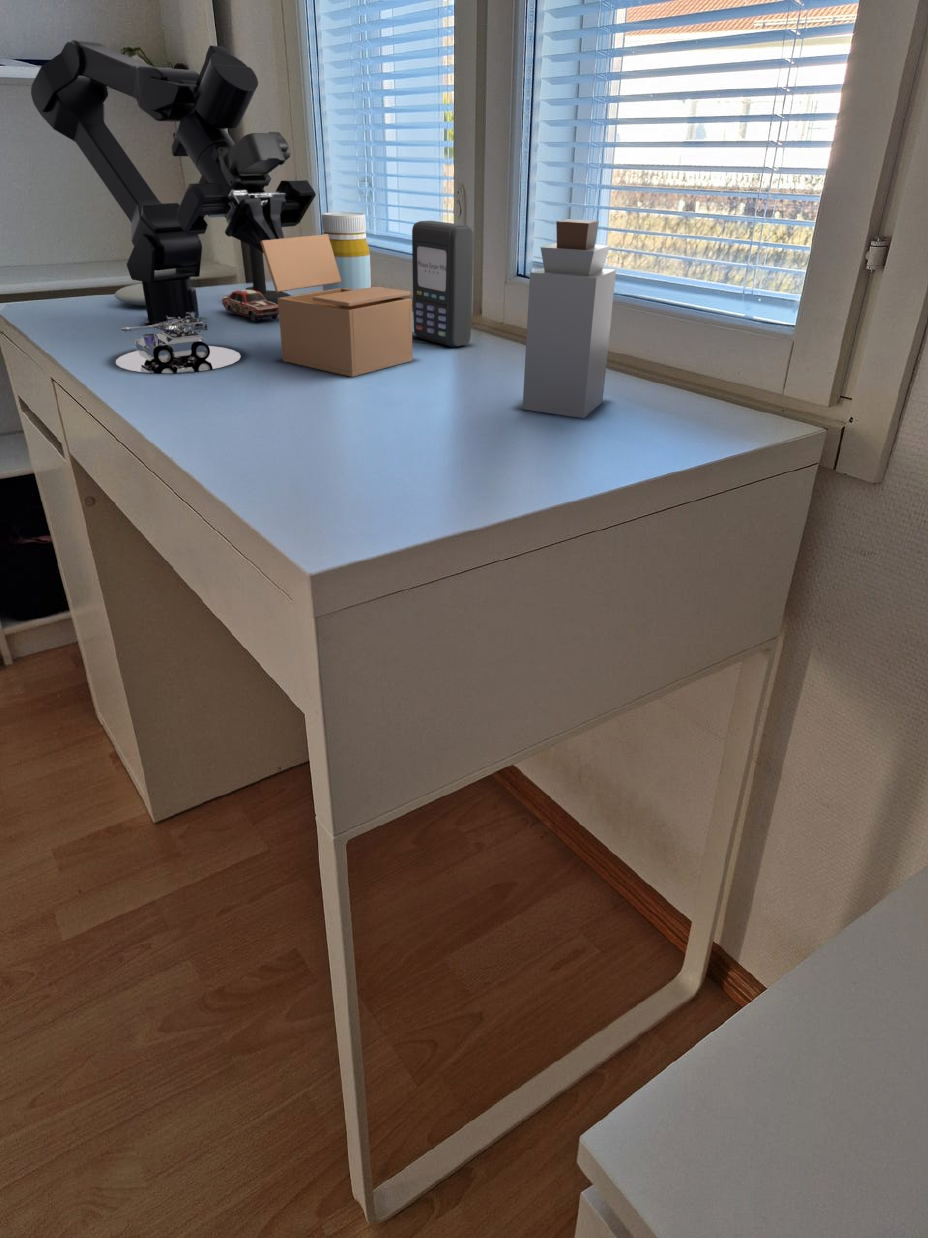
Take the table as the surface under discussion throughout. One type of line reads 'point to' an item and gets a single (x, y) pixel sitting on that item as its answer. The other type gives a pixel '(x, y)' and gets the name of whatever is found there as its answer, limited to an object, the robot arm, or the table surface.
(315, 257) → the lid flap
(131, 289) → the cushion
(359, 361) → the carton
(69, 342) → the table surface
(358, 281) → the bottle
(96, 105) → the robot arm
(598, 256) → the perfume bottle
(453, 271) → the card reader
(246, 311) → the race car
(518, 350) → the table surface
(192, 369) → the toy car
